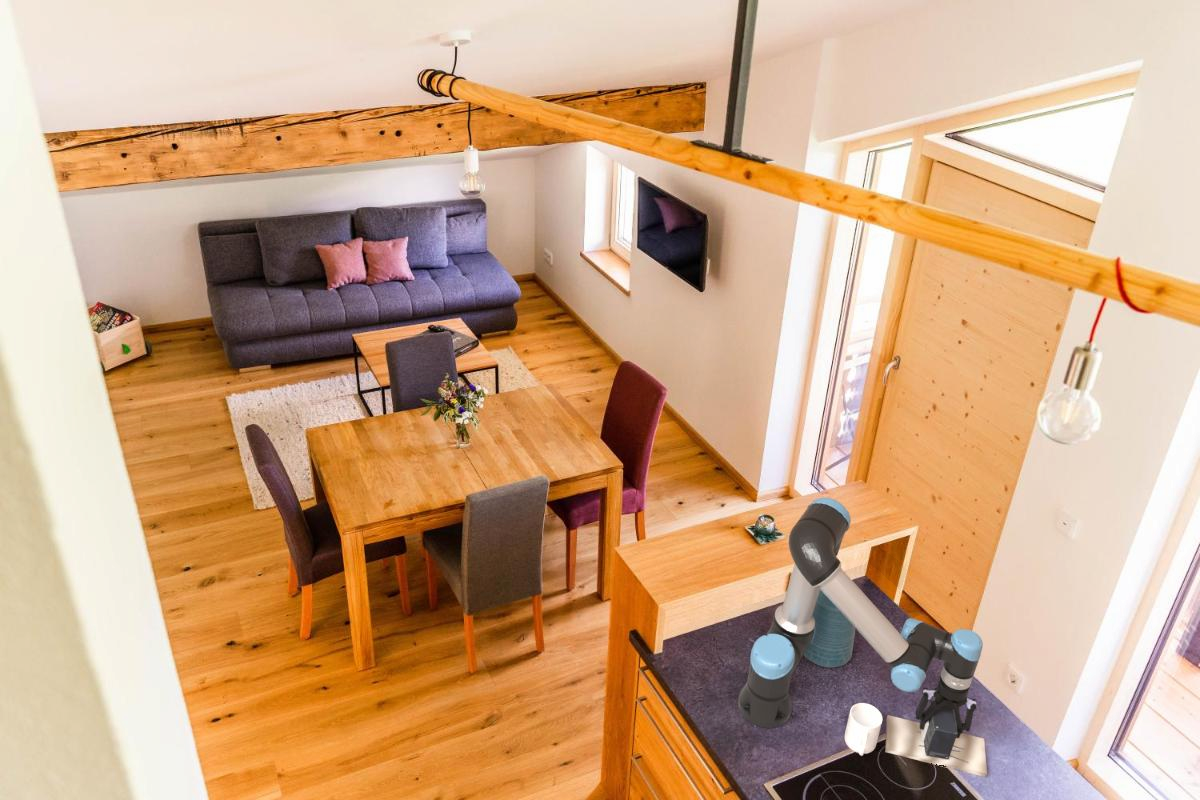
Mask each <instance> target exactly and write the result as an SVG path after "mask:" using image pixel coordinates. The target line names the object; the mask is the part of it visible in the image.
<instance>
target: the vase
mask: <svg viewBox="0 0 1200 800" xmlns="http://www.w3.org/2000/svg"><path fill="white" fill-rule="evenodd" d="M813 616H814V618H815V627H816V631H815V635H814V639H813V641H812V642H811V644H810V645H809V646H808V648H807V650H806V651H805V653H804V655H803V657H805V658H806V659H807V660H808V661H809V662H811V663H813V664H815V665H817V666H820V667H824V668H837V667H842V666H844V665H846V664H847V663H848V662H849V661H850V660H851V659H852V655H853V651H854V650H853V649H854V643H855V637H856V636H855V635H856V628H855V627H854V626H853V625H852V624H851V623H850V622H849V621H848V619H847V618H846V617H845V616H844V615H843V614H842V613H841V612H840V611H839V609H838V608H837V607H836V606H835V605H834V604H833V603H832V602H831V601H830V599H829V598H828V597H827V596H826V595H825V594H824V593H823V592H822V591H821V589H820V592H819V596H818V599H817V602H816V605H815V608H814V612H813Z"/></svg>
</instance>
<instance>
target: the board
mask: <svg viewBox="0 0 1200 800" xmlns="http://www.w3.org/2000/svg"><path fill="white" fill-rule="evenodd" d="M885 721H886V723H885V724H886V726H885V727H886V728H885V750H884V752H885V753H888V754H893V755H896V756H900V757H903V758H906V759H907V758H909V759H911V760H915V761H916V760H917V761H919V762H923V763H927V764H931V763H932V764H931V765H936V764H937V765H936V766H939V765H944V766H945V765H946V766H949V767H953V768H955V769H957V770H956V771H958V770H960V771H959V772H962V771H963V772H962V773H966V772H967V773H968V774H970V773H971V774H970V775H975V776H979V777H983V778H987V775H988V768H987V756H986V755H987V754H986V744H985V738H982V737H978V736H974V735H971V734H967V733H963V732H962V734H960V737H959V738H956V739H955V742H954V745H953V748H952V751H951V754H950V757H949V759H942V758H938V757H933V756H927V755H926V753H925V746H924V741H922V740H921V731H922V730H921V729H920V722H918V721H914V720H909V719H905V718H901V717H897V716H893V715H888V714H887V716H886V720H885ZM955 769H954V770H955ZM967 773H966V774H967Z"/></svg>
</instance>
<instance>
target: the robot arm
mask: <svg viewBox="0 0 1200 800" xmlns="http://www.w3.org/2000/svg"><path fill="white" fill-rule="evenodd" d="M851 520H852V519H851V515H850V512H849V511H848V510H847V508H846V507H845V506H844V505H843V503H841V502H839V501H838V500H836V499H834V498H830V497H820V498H816V499H815V500H813V501H812V502H811V503H809V504H808V506H807V508H806V509H805V511H804V512H803V514H802V515H801V517H800V518H799V519H798V521H796V523H795V524H794V526H793V527H792V529H791V530H790V532H789V536H788V546H789V547H788V548H789V552H790V556H791V558H792V560H793V562H794V566H793V569H792V572H791V576H790V579H789V583H788V586H787V589H786V592H785V597H784V600H783V604H781V605H779V606H778V607H777V608H776V610H775V612H774V615H773V619H772V622H771V625H770V628H769V630H768V631H767V633H766V634H763V635H762V636H760V637H759V638H757V639H756V640H755V642H754V643H753V646H752V648H751V651H750V659H749V660H750V661H749V669H748V676H747V681H746V683H745V685H743V687H742V689H741V690H740V692H739V695H738V702H737V705H738V710H739V712H740V714H741V716H742V717H743V718H744V719H745V720H746V721H748V722H749V723H750V724H752V725H754V726H757V727H760V728H764V729H773V728H774V729H775V728H779V727H782V726H783V725H784V724H786V723H787V722H788V720H790V717H791V713H792V708H793V706H792V705H793V704H792V699H791V696H790V693H789V692H790V691H789V688H790V683H791V679H792V676H793V673H794V672H795V671H796V668H797V666H798V665H799V663H800V661H801V659H802V657H804V653H805V651H806V650H807V648H808V646H809V645H810V644H811V642H812V641H813V639H814V635H815V631H816V627H815V618H814V616H813V612H814V608H815V605H816V602H817V599H818V596H819V592H820V589H821V591H822V592H823V593H824V594H825V595H826V596H827V597H828V598H829V599H830V601H831V602H832V603H833V604H834V605H835V606H836V607H837V608H838V609H839V611H840V612H841V613H842V614H843V615H844V616H845V617H846V618H847V619H848V621H849V622H850V623H851V624H852V625H853V626H854V627H855V630H856V631H857V632H858V633H859V635H861V636H862V637H863V638H864V640H866V642H867V643H868V644H869V645H870V646H871V647H872V648H873V650H874V651H875V652H876V653H877V654H878V655H879V657H881V658H882V659H883V661H885V663H886V664H887V665H888V666H889V667H890V669H891V673H890V678H891V681H892V684H893V685H894V686H895V687H896V688H898V689H899V690H900V691H902V692H906V693H913V692H917V691H918V690H919V689H920V688H921V686H922V685H923V683H924V681H925V680H926V678H927V674H928V671H929V668H930V666H931V664H932V661H933V659H937V660H939V661H943V662H944V663H943V667H942V669H941V673H940V675H939V678H938V682H937V686H936V687H935V688H934V689H933V690H929V689H928V687H923V689H922V692H923V693H922V696H921V698H920V700H919V703H918V705H917V708H916V710H915V719H916V720H920V721H919V723H920V729H921V730H922V731H921V740H922V741H924V739H925V736H926V733H927V729H928V726H929V719H930V718H931V717H932V716H933V715H934V714H935V713H936V712H937V711H938V710H940V709H941V708H942V707H946V708H950V709H953V710H954V716H955V722H956V727H957V733H958V734H957V737H956V738H959V737H960V734H962V733H963V731H965V732H971V727H972V722H973V716H974V712H975V711H976V710H977V707H978V706H977V699H976V698H972V699H970V698H968V697H967V696H968V693H969V691H970V686H971V685H972V682H973V678H974V675H975V672H976V669H977V667H978V664H979V661H980V659H981V655H982V651H983V647H984V646H983V639H982V638H981V636H979V634H978V633H976V632H975V631H973V630H971V629H964V628H959V629H956V630H954V631H953V632H949V631H947V630H944V629H941V628H939V627H937V626H934V625H931V624H928V623H926V622H925V621H921V620H919V619H915V618H912V617H910V618H907V619H906V620H905V622H904V624H903V627H902V629H901V632H899V631H898V629H896V628H895V626H894V625H893V624H892V623H891V622H890V621H889V620H888V619H887V618H886V616H885V615H884V614H883V613H882V612H881V610H879V609H878V608H877V606H876V605H875V604H874V603H873V602H872V601H871V600H870V599H869V597H868V596H867V595H866V594H865V593H864V592H863V591H862V590H861V589H860V588H859V586H858V585H857V584H856V583H855V582H854V581H853V580H852V579H851V577H850V576H848V574H847V573H846V572H845V571H844V570H843V568H842V561H841V560H839V558H838V555H839V551H840V548H841V544H842V542H843V539H844V537H845V534H846V532H847V531H848V530H849V529H850V525H851ZM932 697H934V700H933V701H934V702H933V703H932V704H931V705H930V706H929V705H928V703H929V700H931V699H932ZM927 705H928V707H927ZM964 705H966V708H967V709H966V714H965V719H964V722H962V715H961V710H960V707H962V706H964ZM926 707H927V708H926Z"/></svg>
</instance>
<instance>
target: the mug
mask: <svg viewBox="0 0 1200 800" xmlns="http://www.w3.org/2000/svg"><path fill="white" fill-rule="evenodd" d="M847 718H848V719H847V723H846V727H845V732H844V741H845V742H844V743H845V744H846V746H847V747H848V748H849V749H850V750H851V751H853V752H855V753H857V754H859V756H861V757H862V756H864V754H865V755H867V754H869V753H872V752H873V751H874V750H875V749H876V747H877V743H878V740H879V739H878V738H879V736H880V732H881V727H882V723H883V715H882V713H881V712H880V709H878V708H877V707H876V706H873V705H872V704H869V703H867V702H859V703H855V704H853V705H852V706H851V708H850V710H849V714H848V717H847Z"/></svg>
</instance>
